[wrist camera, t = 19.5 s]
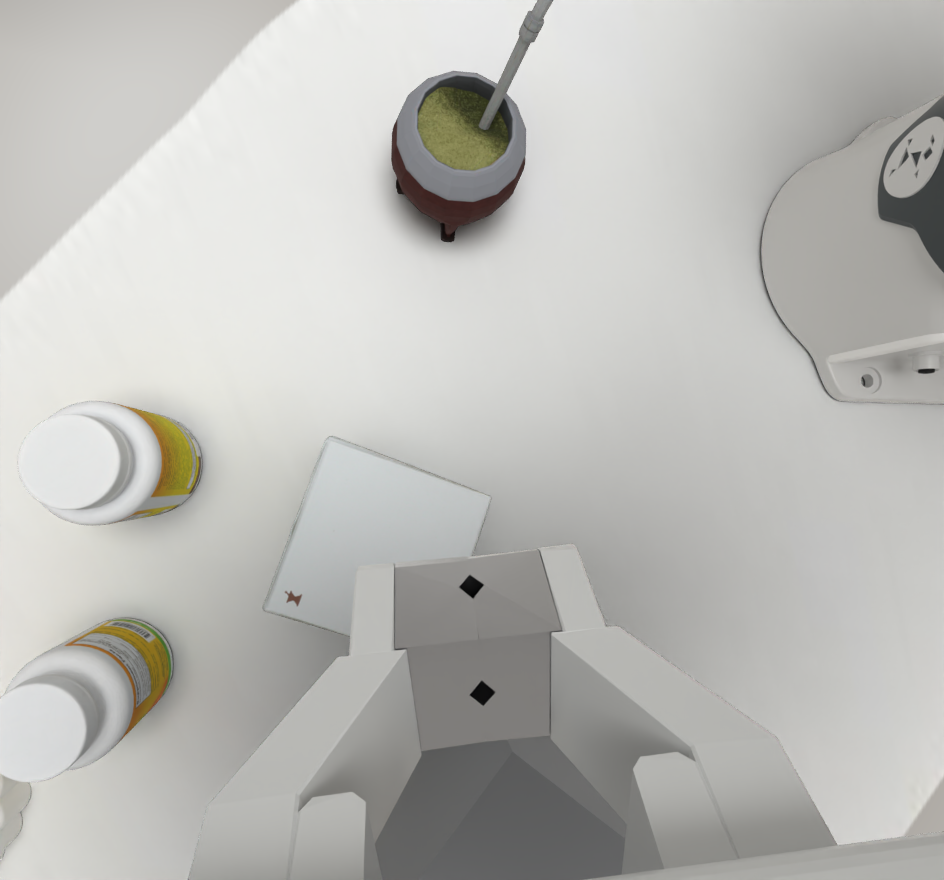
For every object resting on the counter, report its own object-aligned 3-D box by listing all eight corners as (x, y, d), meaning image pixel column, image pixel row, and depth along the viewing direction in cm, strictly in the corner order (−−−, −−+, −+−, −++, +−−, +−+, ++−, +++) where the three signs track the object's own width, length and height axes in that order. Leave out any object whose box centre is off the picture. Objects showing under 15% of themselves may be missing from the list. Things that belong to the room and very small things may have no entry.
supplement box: (417, 609, 39) (434, 672, 27) (294, 567, 38) (253, 612, 26) (460, 489, 40) (497, 496, 27) (341, 445, 39) (323, 432, 27)
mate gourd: (388, 244, 40) (393, 108, 25) (392, 115, 40) (400, -94, 26) (512, 252, 41) (587, 127, 26) (514, 126, 41) (590, -68, 27)
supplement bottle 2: (89, 731, 36) (-15, 824, 27) (57, 637, 36) (-59, 695, 27) (188, 694, 37) (122, 771, 28) (157, 602, 37) (80, 646, 28)
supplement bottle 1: (159, 395, 38) (79, 365, 28) (225, 469, 38) (170, 467, 28) (77, 460, 37) (-37, 454, 27) (145, 536, 37) (58, 559, 27)
